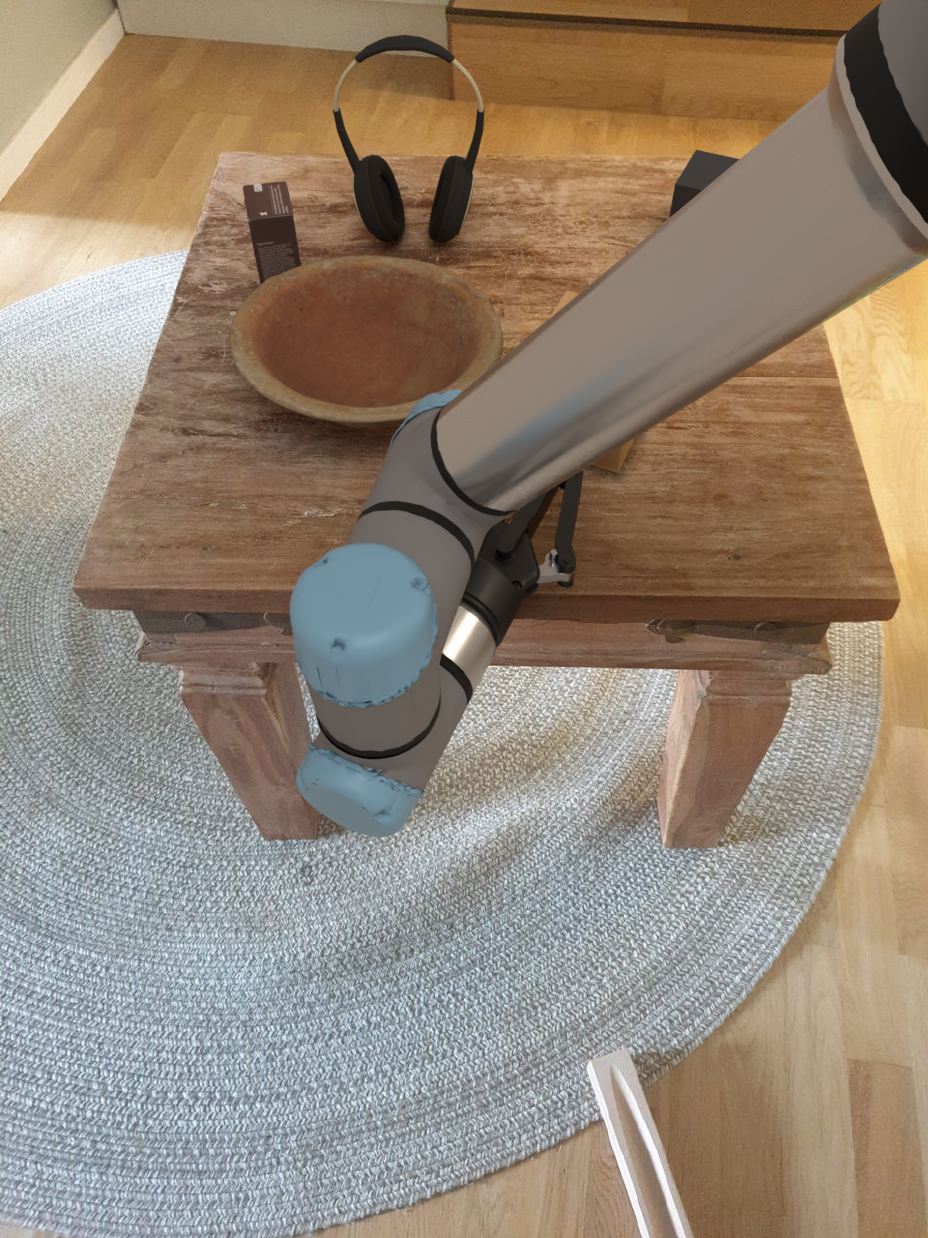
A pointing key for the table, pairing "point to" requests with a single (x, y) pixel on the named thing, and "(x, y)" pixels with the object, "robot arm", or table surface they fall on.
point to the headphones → (377, 180)
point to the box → (271, 228)
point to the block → (698, 176)
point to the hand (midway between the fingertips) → (573, 407)
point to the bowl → (363, 338)
